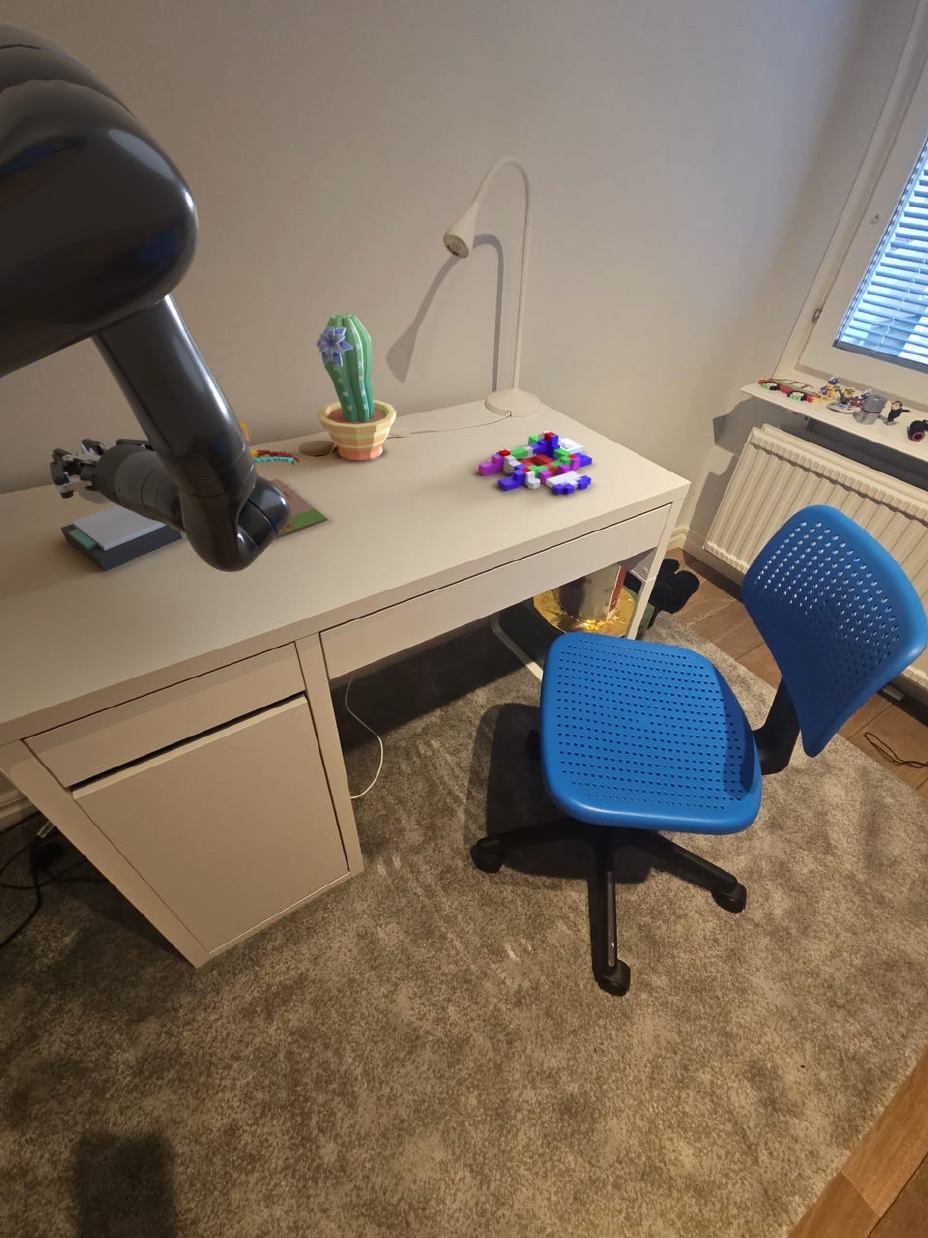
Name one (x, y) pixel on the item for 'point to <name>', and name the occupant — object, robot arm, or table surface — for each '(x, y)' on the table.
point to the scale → (117, 536)
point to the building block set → (544, 454)
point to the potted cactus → (352, 391)
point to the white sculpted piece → (86, 494)
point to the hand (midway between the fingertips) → (73, 451)
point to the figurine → (288, 491)
